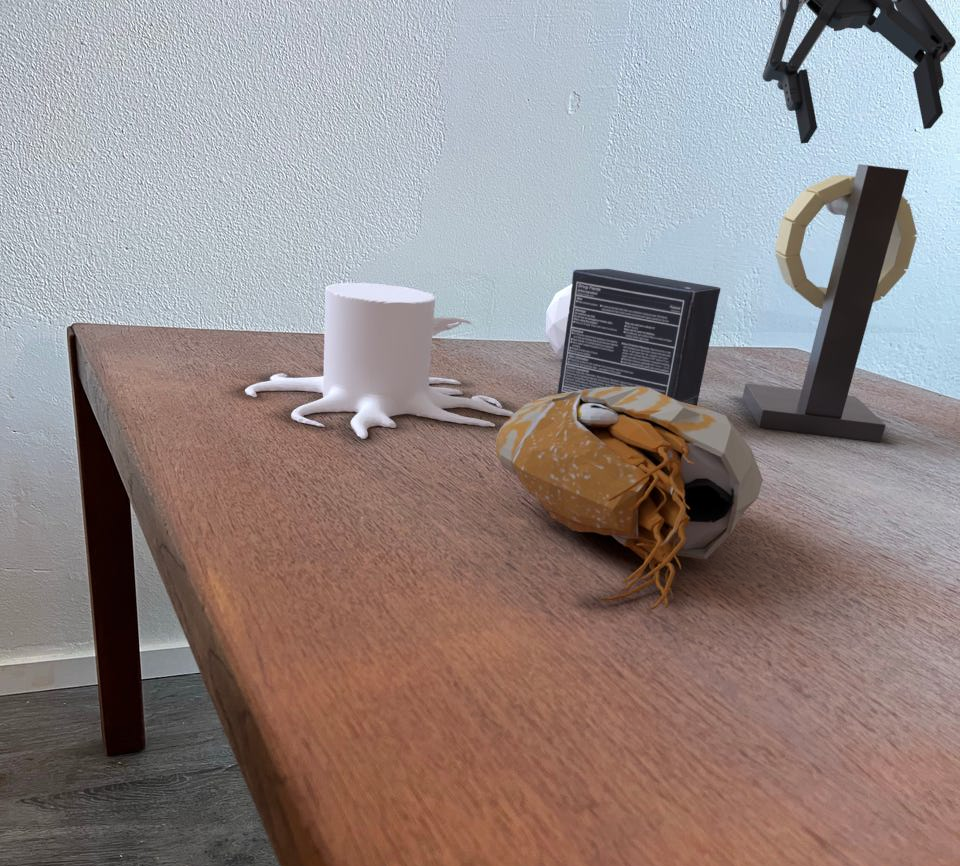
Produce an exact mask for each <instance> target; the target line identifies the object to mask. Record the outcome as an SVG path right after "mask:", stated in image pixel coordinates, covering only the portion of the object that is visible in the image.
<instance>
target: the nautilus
mask: <svg viewBox="0 0 960 866" xmlns="http://www.w3.org/2000/svg"><path fill="white" fill-rule="evenodd" d="M513 413H514V414H513V415H512V416H511V417H510V416H509V418H508V419H507V420H506V421H505V422H504V423H503V424H502V426H501V427H500V428H499V431H498V432H497V434H496V437H495V446H494V447H495V449H494V451H495V453H496V456H497V458H498V461H499V462H500V464H501V466H502V467H503V469H505V470H507V471H508V472H510V473H511V474H512V475H514V476H516V478H517V479H518V481H519V482H520V483H521V485H522V486H523V487H524V488H525V489H526V490H527V491H528V492H529V493H530V494H531V496H532V497H533V498H535V499H536V500H537V502H538V503H540V505H542V506H543V508H545V509H546V510H547V512H548V515H549V517H550V519H552V520H554V521H555V522H558V523H560V524H562V525H564V526H566V527H567V528H568V529H569V530H571V531H572V532H579V533H595V534H598V535H599V534H600V535H603V536H611V537H612V538H613V539H615V540H616V541H617V542H618V543H620V544H621V545H622V546H623V547H625V548H626V547H627V548H629V549H630V550H631V551H632V552H634V553H635V554H636V555H637V556H639V557H640V558H641V559H642V560H644V562H643V564H642V565H640V567H638V568H637V569H636V570H635V571H634V572H632V574H630V575H629V576H628V577H627V578H626V579H624V580H622V581H621V583H622V584H625V583H628V582H630V581H631V582H630V583H629V584H628V585H627V586H626V587H624V588H622V589H620V592H623V593H621V594H618V595H614V596H611V597H608V598H605V597H604V598H603V597H601V598H600V601H605V602H609V601H614V600H617V599H623V598H626V597H629V596H632V595H634V594H636V593H638V592H640V591H642V590H643V589H646V588H647V587H649V586H651V585H653V584H655V586H656V588H657V589H659V590H660V592H661V596H660V597H659V598H658V600H657V601H656V603H655V604H654V605H652V606H651V607H650V608H648V611H653V610H656V608H657V607H659V606H660V604H662V602H663V601H664V603H665V608H666V609H668V608H669V607H668V606H669V600H668V596H667V595H668V593H670V597H671V600H674V593H673V590H672V587H671V585H672V583H673V580H674V578H675V575H676V570H675V566H674V564H673V563H671V561H673V559H675V561H676V563H677V565H678V566H679V569H680V570H681V569H682V565H681V562H680V560H679V558H678V557H683V558H684V557H685V558H691V559H692V558H693V559H697V560H698V559H699V560H704V561H705V560H707V559H708V558H709V557H710V556H711V555H712V554H713V553H714V551H716V550H717V549H718V548H719V547H720V545H722V543H724V542H725V541H726V540H727V538H729V536H730V535H732V533H733V531H734V529H735V527H736V526H737V524H738V523H739V521H740V518H741V517H742V515H743V514H744V513H745V512H746V511H747V510H748V509H749V508H750V507H751V506H752V505H753V504H754V503H755V502H756V500H758V499H759V495H760V492H761V488H762V484H763V481H764V479H763V476H762V473H761V470H760V468H759V466H758V463H757V460H756V458H755V455H754V452H753V450H752V447H750V445H749V444H748V442H747V441H746V440H745V439H744V437H743V436H742V434H741V433H739V431H738V430H737V428H736V427H735V426H734V424H733V423H732V422H731V420H730V419H729V418H728V417H727V415H725V414H723V413H720V412H717V411H715V410H712V409H709V408H706V407H703V406H699V405H697V406H695V405H691V404H687V403H683V402H680V401H677V400H675V399H672V398H670V397H668V396H666V395H664V394H661V393H659V392H657V391H655V390H653V389H651V388H647V387H602V388H592V389H586V390H579V391H573V392H567V393H561V394H557V393H556V394H550V395H546V396H543V397H541V398H538V399H535V400H532V401H529V402H527V403H526V404H524V405H523V406H522V407H520V408H519V409H518V410H517V411H515V412H513ZM677 556H678V557H677ZM648 565H649V569H650V571H649V572H648V573H647V574H645V575H643V573H644V572H645V570H646V569H647V567H648ZM656 565H657V566H656ZM664 567H665V568H666V571H665V573H664V584H665V587H663V586H662V585H661V582H660V581H661V580H660V575H661V574H660V572H661V571H660V570H661V569H663V568H664ZM669 571H670V573H669ZM668 574H669V576H668ZM642 575H643V576H642ZM651 576H653V577H652V578H651V579H649V578H650V577H651ZM639 579H640V580H647V579H649V580H648V581H646V582H644V583H642V584H640V585H639V586H637V587H635V588H632V589H631V590H629V589H630V588H631V587H633V585H635V584H636V583H637V582H638V581H639ZM627 590H629V591H627ZM624 591H627V592H624Z"/></svg>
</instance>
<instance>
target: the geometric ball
mask: <svg viewBox="0 0 960 866" xmlns="http://www.w3.org/2000/svg"><path fill="white" fill-rule="evenodd" d="M571 290H572V283H571V284H570V285H567V286H566V287H565V288H562V289H561V290H559V291H557V292H555V294H554V296H553V298H552V300H551V302H550V304H549V306H548V308H547V310H546V311H545V312H546V313H545V334H544V335H545V337H546V338H547V340H548V342H549V344H550V346H551V347H552V349H553V351H554V353H555V354H556V355H557V356H559V357H561V358H563V350H564V342H565V335H566V327H567V320H568V314H569V307H570V300H571Z"/></svg>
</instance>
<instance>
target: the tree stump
mask: <svg viewBox="0 0 960 866" xmlns="http://www.w3.org/2000/svg"><path fill="white" fill-rule="evenodd" d="M324 296H325V298H324V302H325V303H324V335H323V336H324V338H323V339H324V340H323V375H322V376H312V377H311V376H309V377H288V374H286V373H276V374H273V375H271V376H270V377H269V380H267V381H260V382H256V383H253V384H251V385H249V386H248V387H247V388H245V390H244V393H245V394H246V395H247V396H249V397H253V398H257V397H258V394H257V393H259V392H273V391H274V392H275V391H276V392H277V391H281V392H282V391H283V392H284V391H285V392H287V391H290V392H292V391H293V392H294V391H298V392H299V391H300V392H311V393H312V392H313V393H318V394H322V398H319V399H317V400H314V401H311V402H307V403H305V404H303V405H300V406H298V407H296V408H295V409H294V410H292V412H291V414H290V416H291V419H292V420H293V421H297V423H302V424H306V425H311V426H316V427H319V428H320V427H321V428H325V427H326V426H325V424H323V423H320V422H318V421H316V420H311V419H309V418H306V417H304V416H307V415H310V414H317V413H339V412H340V413H342V412H347V413H353V412H354V413H356V414H355V415H354V416H353V417H352V418H351V420H350V426H351V429H353V431H354V432H355V434H356V436H357V437H359V438H361V439H362V440H365V439H367V438H368V437H369V433H368V429H369V428H371V427H378V426H379V427H383V428H391V429H392V428H394V429H395V428H397V424H396V422H395V421H394V420H393V419H391V417H394V416H400V415H410V416H417V417H423V418H429V419H433V420H438V421H441V422H449V423H456V424H466V425H472V426H479V427H496V424H495V423H494V422H491V421H488V420H484V419H479V418H476V417H470V416H469V417H468V416H463V415H460V414H457V413H453V412H449V411H447V410H444V409H454V408H468V409H472V410H476V411H480V412H484V413H488V414H491V415H497V416H504V417H505V416H506V417H509V418H510V417H511V416H512V415H513V414H514V413H515V412H513V411H510V410H509V409H505V408H503V405H502V404H501V403H500V402H499V401H498V400H497V399H496V398H493V397H490V396H487V395H482V394H481V395H473V396H472V397H470V398H469V397H462V396H461V397H460V396H456V395H463V392H462V391H461V390H459V389H455V388H449V387H448V388H447V387H437V386H430V385H434V384H436V385H437V384H450V385H451V384H452V385H459V386H460V385H462V383H461V382H460V381H458V380H456V379H451V378H441V377H432V376H431V377H430V374H431V362H432V348H433V349H435V350H437V348H436V345H435V344H434V343H433V337H435V336H437V335H439V334H440V333H442V332H444V331H446V332H447V331H450V330H452V329H455V328H456V327H458V326H460V325H461V324H462V323H466V324H470V325H472V323H471V321H469V320H465V317H461V318H457V317H447V316H436V317H435V306H436V296H435V295H434V294H432V293H431V292H428V291H427V292H426V291H422V290H421V289H416V288H411V287H406V286H399V285H391V284H387V283H386V284H381V283H369V282H340V283H331V284H329V285H328V286H327V285H326V286H325V295H324ZM453 395H454V396H453ZM491 403H492V404H491ZM494 404H495V405H496V406H495V405H494Z"/></svg>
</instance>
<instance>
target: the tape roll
mask: <svg viewBox="0 0 960 866" xmlns="http://www.w3.org/2000/svg"><path fill="white" fill-rule="evenodd" d="M855 176H856V175H854V176H853V175H845V174H837V175H836V174H835V175H832V176H830V177H828V178H826V179H824V180H821V181H819V182H817V183H815V184H812V185H809V186H807V187H806V188H805V190H802V192H801V193H800V194H798V196H797V198H796V199H795V200H794V201H793V203H792V204H791V205H790V206H789V207H788V209H787V210H786V211H785V212H784V214H783V215H782V217H783V218H781V219H780V223H779V228H778V233H777V237H776V241H775V246H774V250H775V251H774V254H775V258H776V261H777V264H778V267H779V270H780V274H781V277H782V280H783V281H784V283H785V284H786V285H787V286H789V287H790V288H791V289H792V290H794V291H795V292H796V293H797V294H799V295H800V296H801V298H803V299H805V300H806V301H807V302H808V303H810V304H811V305H812V306H814V307H815V308H818V309H819V310H822V307H823V303H824V299H825V295H826V291H827V287H824V286H817V285H816V284H814V283H813V282H812V281H811V280H810V279H808V277H807V273H806V270H805V267H804V264H803V260H802V256H801V251H802V248H803V243H804V238H805V234H806V230H807V227H808V226H809V225H810V223H811V222H812V221H813V220H814V219H815V217H816V216H817V215H818V214H819V213H820V211H821V210H822V209H823V208H824V206H826V204H828V203H830V202H832V201H835V200H837V199H839V198H841V197H844V196H846V195H848V194H851V191H852V187H853V184H854V180H855ZM911 208H912V207H911V204H910V203H909V201H908V199H907V198H905V197H904V196H903V195H902V198H901V201H900V205H899V209H898V212H897V216H896V220H895V223H894V227H893V231H892V234H891V238H890V242H889V245H888V249H887V253H886V256H885V260H884V264H883V267H882V271H881V275H880V278H879V282H878V286H877V289H876V293H875V297H874V300H873V303H876V302H878V301H880V300H882V298H885V297H886V296H887V295H888V293H889V292H890V291H891V290H892V289H893V287H895V285H897V283H898V282H899V281H900V280H901V279H902V278H903V276H905V274H906V273H907V271H906V270H909V266H910V263H911V260H912V259H911V258H912V255H913V252H914V249H915V244H916V242H917V238H918V237H917V235H918V233H917V228H916V224H915V220H914V217H913V212H912V209H911Z"/></svg>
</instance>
